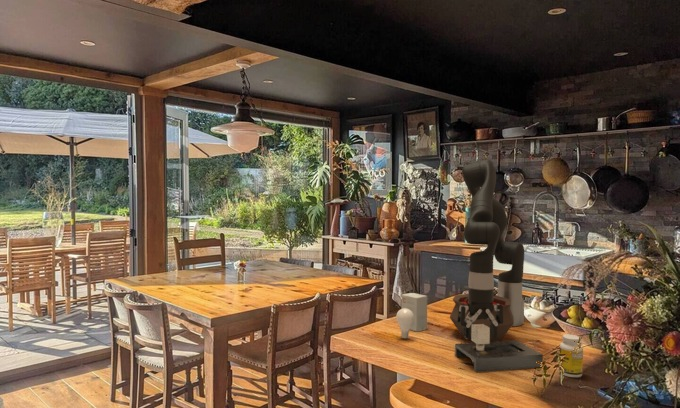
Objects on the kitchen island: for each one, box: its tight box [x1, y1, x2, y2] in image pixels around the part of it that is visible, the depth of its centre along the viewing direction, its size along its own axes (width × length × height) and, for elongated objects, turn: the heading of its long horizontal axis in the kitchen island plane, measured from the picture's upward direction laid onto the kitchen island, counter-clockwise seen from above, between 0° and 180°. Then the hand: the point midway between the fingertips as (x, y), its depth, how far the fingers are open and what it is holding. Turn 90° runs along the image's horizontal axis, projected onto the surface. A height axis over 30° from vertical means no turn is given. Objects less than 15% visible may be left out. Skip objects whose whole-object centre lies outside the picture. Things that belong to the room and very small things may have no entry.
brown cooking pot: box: [449, 288, 514, 342], centre depth 172 cm, size 24×24×16 cm
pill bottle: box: [558, 333, 584, 378], centre depth 137 cm, size 6×6×11 cm
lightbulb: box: [395, 308, 414, 340], centre depth 168 cm, size 6×6×11 cm
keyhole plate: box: [454, 339, 544, 373], centre depth 146 cm, size 22×14×4 cm, turn 101°
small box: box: [401, 292, 428, 332], centre depth 182 cm, size 8×6×13 cm
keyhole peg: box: [470, 324, 490, 365], centre depth 145 cm, size 5×5×12 cm
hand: (480, 338), depth 145 cm, fingers open, 8 cm apart
